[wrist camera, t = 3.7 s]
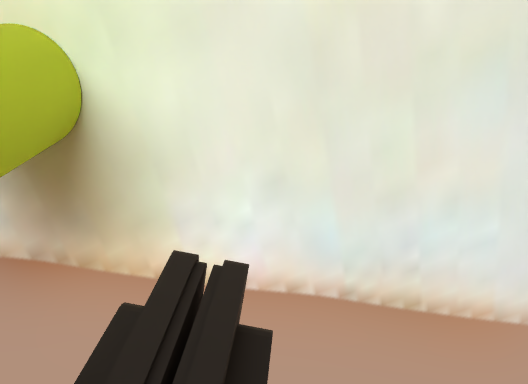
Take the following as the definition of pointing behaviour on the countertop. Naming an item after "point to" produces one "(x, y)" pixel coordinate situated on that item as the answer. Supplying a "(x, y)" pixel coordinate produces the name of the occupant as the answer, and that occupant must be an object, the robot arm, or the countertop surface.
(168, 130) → the countertop surface
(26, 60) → the soap dispenser
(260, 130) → the countertop surface
